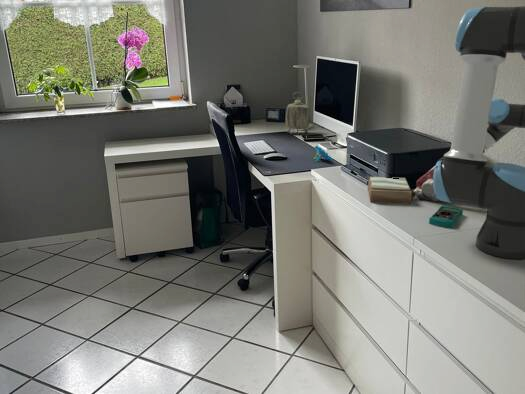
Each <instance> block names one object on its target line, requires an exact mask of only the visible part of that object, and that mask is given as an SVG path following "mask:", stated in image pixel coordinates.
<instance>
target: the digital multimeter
mask: <svg viewBox="0 0 525 394" xmlns="http://www.w3.org/2000/svg"><path fill="white" fill-rule="evenodd" d="M463 213H464V210H463V209H462V208H460V207H456V206H447V205H441V206H439V208H437V210H436V212H435V213H434V214H432V215H431V216H430V217H429V221H428V223H429V224H430V225H432V226H436V227H443V228H449V229H452V228H454V227H455V224H456V223H457V221H458V220H459V219H460V218H461V217H462V216H463Z"/></svg>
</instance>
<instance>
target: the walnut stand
mask: <svg viewBox="0 0 525 394" xmlns="http://www.w3.org/2000/svg"><path fill="white" fill-rule="evenodd" d="M386 177H387V176H369V177H368V180H367V181H368V182H367V191H368V196H369V201H370V203H374V204H377V203H381V204H382V203H383V204H398V205H399V204H402V205H411V203H412V196H413V195H412V194H413V192H412V190H411V188H410V185H409V183H408V181H407V179H406V177H398V178H399V179H393V178H394V177H392V178H386Z"/></svg>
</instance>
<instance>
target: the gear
mask: <svg viewBox="0 0 525 394" xmlns="http://www.w3.org/2000/svg"><path fill="white" fill-rule="evenodd" d="M314 149H315V151H316V154H315V155H316V156H315V157H314V158H313V159H314V160H315V162H319V161H320V160H321V158H325V159H326V160H328V161H329V162H330V161H332V160H333V159H332V156H331V155H329V153H328V152H326V151H325V149H323V148H321V147H320V146H318V145H315V146H314Z"/></svg>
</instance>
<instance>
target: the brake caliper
mask: <svg viewBox="0 0 525 394" xmlns="http://www.w3.org/2000/svg"><path fill="white" fill-rule="evenodd" d="M431 169H432V168H431ZM431 169H430V170H428V171H427V172H426V173H425V174H423V175H422V176H420V177H419V178H418V179H417V180H416V184H415V185H416V188H415V189H414V190H413V192H412V194H415V196H413V197H412V199H413V200H416V199H420V200H427V201H433V202H440V201H441V200H439V199H438V198H437V197H436V195H435V192H434V187H433V176H434V173H433V172H434V169H432V170H431ZM428 175H430V177H428Z"/></svg>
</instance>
